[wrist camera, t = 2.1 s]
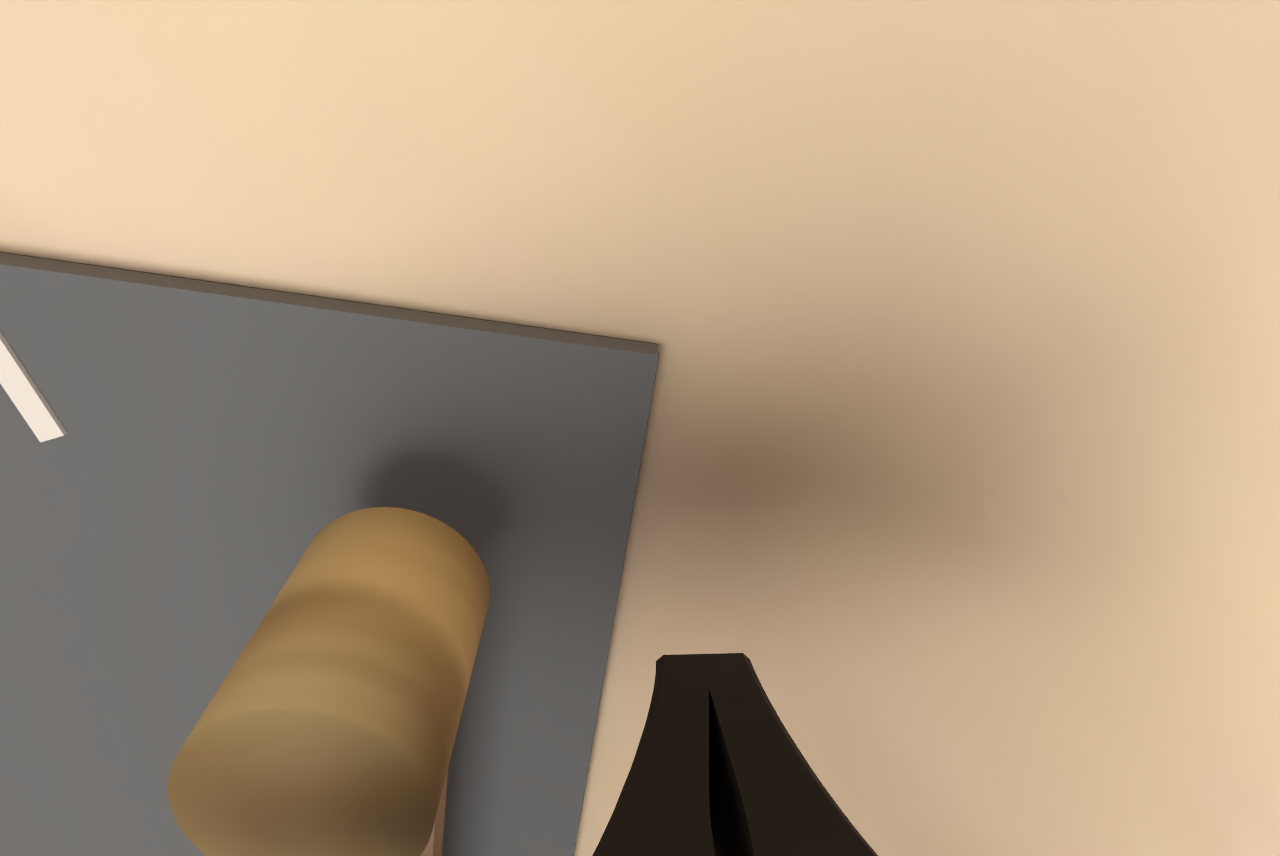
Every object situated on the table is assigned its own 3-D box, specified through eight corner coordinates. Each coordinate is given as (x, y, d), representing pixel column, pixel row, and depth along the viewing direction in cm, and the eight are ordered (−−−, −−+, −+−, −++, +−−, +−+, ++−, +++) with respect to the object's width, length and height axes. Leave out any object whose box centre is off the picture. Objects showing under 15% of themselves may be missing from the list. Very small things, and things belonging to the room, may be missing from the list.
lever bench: (544, 1014, 24) (535, 1119, 22) (-141, 961, 23) (-229, 1067, 21) (657, 344, 15) (662, 399, 13) (-448, 189, 14) (-665, 220, 12)
